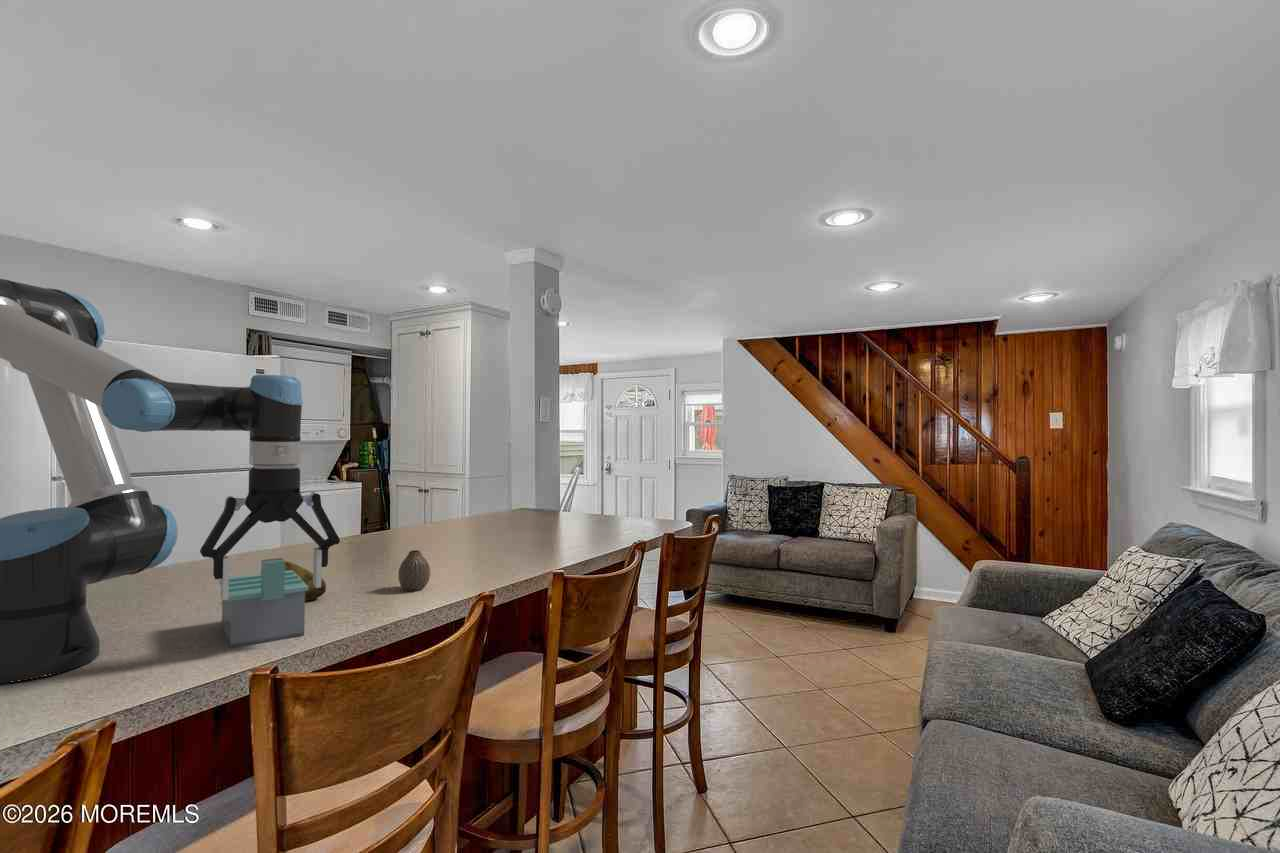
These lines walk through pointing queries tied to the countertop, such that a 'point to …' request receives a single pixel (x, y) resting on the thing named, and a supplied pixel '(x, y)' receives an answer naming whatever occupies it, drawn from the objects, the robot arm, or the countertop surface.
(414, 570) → the vase
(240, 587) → the lid
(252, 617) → the tub
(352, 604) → the countertop surface
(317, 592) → the potato
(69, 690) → the countertop surface
